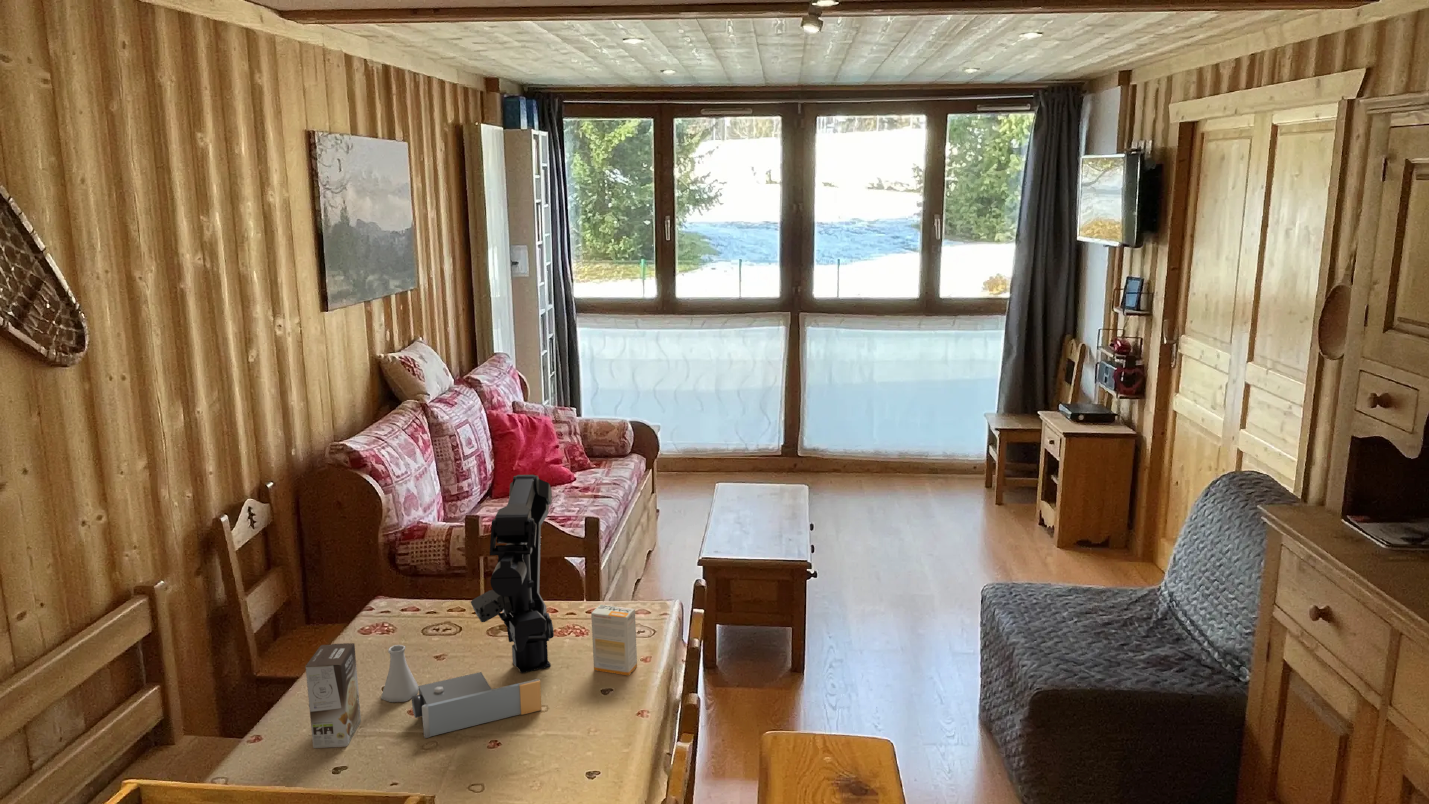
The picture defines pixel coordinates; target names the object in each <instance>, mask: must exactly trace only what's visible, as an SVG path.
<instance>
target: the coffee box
mask: <svg viewBox="0 0 1429 804" xmlns="http://www.w3.org/2000/svg"><path fill="white" fill-rule="evenodd" d="M357 669H358V668H357V659H356V648H355V643H353V642H350V643H349V642H348V643H331V644H321V645H320V646H319V647H318V649H317V650H316V651H315V653H314V654H313V655H312V656H311V657H310V659H309V661H308V662H307V663H306V665H305V674H306V676H305V677H306V686H307V695H308V708H309V717H310V727H311V738H312V748H313V749H323V748H325V749H326V748H343V747H348V746H349V744H350V742H351V740H352V739H353V736H354V735H355V733H356V731H357V729H358V727H359V726H360V724H361V721H362V719H361V706H360V694H359V693H360V692H359V682H358V671H357Z"/></svg>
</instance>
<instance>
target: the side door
mask: <svg viewBox="0 0 1429 804" xmlns="http://www.w3.org/2000/svg"><path fill="white" fill-rule="evenodd" d="M491 689H492V690H488V691H483V692H479V693H475V694H470V695H466V696H462V697H458V698H453V699H449V700H445V701H441V702H436V703H432V704H428V705H423V706H422V717H423V719H422V729H423V737H424V738H425V739H427V738H428V739H429V738H430V737H433V736H437V735H441V734H446V733H450V732H454V731H458V730H461V729H466V728H470V727H473V726H477V725H481V724H486V723H490V722H495V721H498V720H502V719H506V718H511V717H514V716H518V715H521V716H523V715H526V714H527V715H528V714H531V713H534V712H539V711H543V708H542V706H543V705H542V704H543V703H542V689H541V680H540V679H539V678H535V679H531V680H527V681H523V682H518V683H515V684H514V683H513V684H510V685H504V686H500V687H498V688H491ZM422 717H421V718H422Z"/></svg>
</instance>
